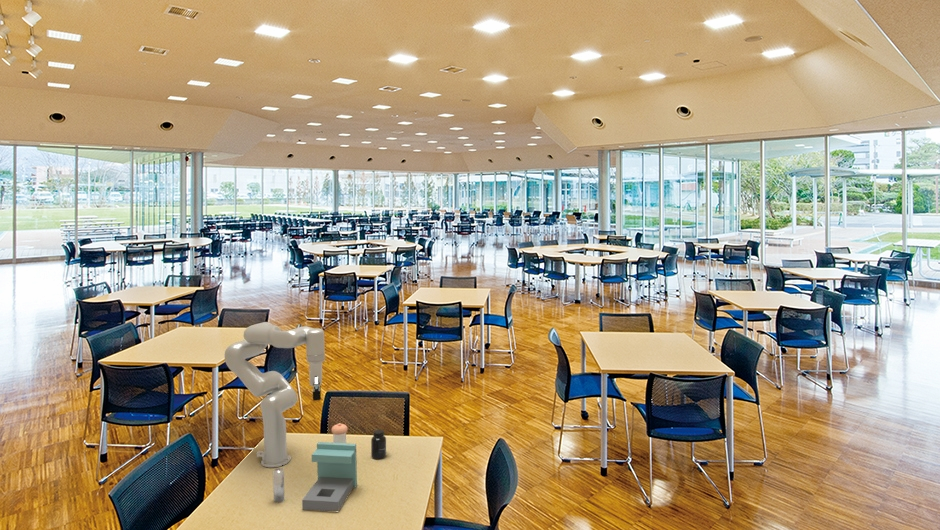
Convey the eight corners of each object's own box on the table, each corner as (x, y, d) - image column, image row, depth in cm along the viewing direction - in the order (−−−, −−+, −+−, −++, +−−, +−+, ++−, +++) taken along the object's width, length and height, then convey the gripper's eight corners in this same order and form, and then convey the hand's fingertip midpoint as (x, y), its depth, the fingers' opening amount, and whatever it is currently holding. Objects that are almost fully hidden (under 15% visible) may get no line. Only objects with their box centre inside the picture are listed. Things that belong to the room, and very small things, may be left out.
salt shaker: (350, 461, 243) (350, 420, 241) (345, 469, 236) (344, 427, 234) (335, 460, 244) (334, 420, 242) (329, 468, 236) (328, 426, 235)
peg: (272, 502, 209) (271, 472, 207) (276, 496, 212) (275, 468, 211) (281, 502, 208) (280, 473, 207) (286, 497, 212) (285, 468, 211)
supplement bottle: (383, 460, 244) (382, 435, 243) (369, 458, 246) (368, 433, 244) (388, 453, 251) (388, 429, 250) (374, 452, 252) (374, 427, 251)
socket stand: (299, 509, 203) (298, 464, 202) (319, 483, 223) (318, 441, 221) (340, 512, 202) (339, 466, 200) (356, 485, 222) (356, 443, 220)
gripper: (307, 353, 236) (308, 390, 238) (306, 363, 220) (307, 404, 221) (324, 352, 238) (325, 389, 240) (325, 362, 222) (326, 402, 223)
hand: (316, 396), depth 231 cm, fingers open, 9 cm apart
